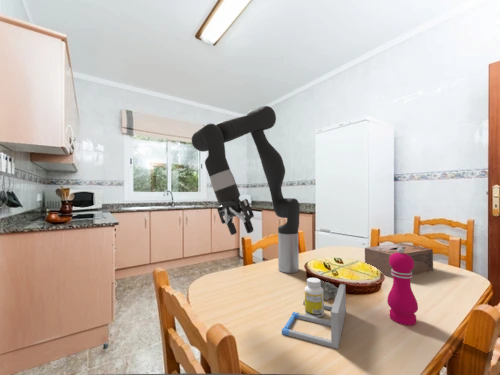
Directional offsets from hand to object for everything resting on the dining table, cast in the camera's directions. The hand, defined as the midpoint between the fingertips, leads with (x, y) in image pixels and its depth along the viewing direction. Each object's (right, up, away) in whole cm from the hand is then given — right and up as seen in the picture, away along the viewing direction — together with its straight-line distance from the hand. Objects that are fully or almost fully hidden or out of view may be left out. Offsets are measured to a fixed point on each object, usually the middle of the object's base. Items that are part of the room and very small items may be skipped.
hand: (242, 233), depth 77 cm
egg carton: (+29, -23, +7) cm, 37 cm away
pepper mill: (+45, -22, -11) cm, 52 cm away
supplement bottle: (+22, -23, -7) cm, 32 cm away
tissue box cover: (+71, -24, +32) cm, 82 cm away
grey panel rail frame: (+21, -22, -12) cm, 33 cm away
